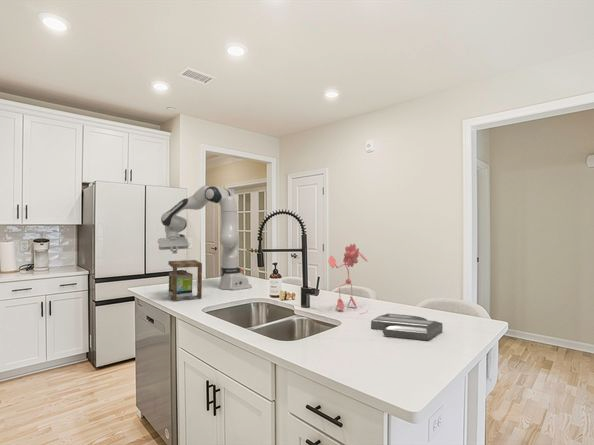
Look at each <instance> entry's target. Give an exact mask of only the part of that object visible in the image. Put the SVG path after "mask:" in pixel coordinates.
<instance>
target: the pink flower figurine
mask: <svg viewBox="0 0 594 445" xmlns="http://www.w3.org/2000/svg"><path fill="white" fill-rule="evenodd" d="M344 249H345V252H344V254H343V256H344V257H343V260H342V262H343V264H341V265H339V266H337V262H336V259H335V256H332V255H330V256H329V258H328V264H329V265H330V267H331V268H332V269H334V268H335V267H336V269H338V268H340V267H342V266H345V268H346V270H347V277H348V278H347V279H346V280H345V283H344V284H342V285H340V286H339V287H338V289H339V290H338V291H339V296H341V288H342V287H343V286H345V285H351V286H350V287H351V288H350V290H351V294H353V285H352V280H351V279H350V271H349V267H351V268H353V267H354V264H358V262H359V260H358V258H359V256H360V258H362V259H363V260H364V261H365V262H369V261H368V260H367V259H366V257H365V256H364V255H363V254H362V253H361V252H360V248H359V247H357V245H356V243H353V244H352V243H350V244H349V246H348V245H346V246H345V247H344ZM349 298H350V299H349V302H348V303H347V305H346V306H347V307H348V308H349V306H350V304H351V302H352V304H353V306H354V307H355V308H358V306H357V303H356V300H354V298H353V296H352V295H351V296H349ZM344 308H345V304H344V301H343V300H342V299H341V298H338V299H337V305H336V307H335V310H337V309H339V310H340V311H341V312H343V311H344ZM327 311H329V309H327ZM365 313H367V311H365V312H362V313H360V315H361V314H362V315H363V314H365Z"/></svg>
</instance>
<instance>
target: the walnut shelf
mask: <svg viewBox="0 0 594 445" xmlns="http://www.w3.org/2000/svg"><path fill="white" fill-rule="evenodd" d="M167 263H168V266H170V267H171V268H172V272H173V293H172V295H171V297H170V300H171V301H172V303H173V302H181V301H192V300H194V301H195V300H201V299H202V292H203V291H202V290H203V289H202V287H203V282H202V280H203V277H202V275H203V263H202V262H200V261H198V260H196V259H189V260H183V259H182V260H168V262H167ZM180 268H197V282H196V283H197V284H196V285H197V287H196V288H197V289H196V291H197V292H196V295H192V296H184V297H177V272H178V269H180Z"/></svg>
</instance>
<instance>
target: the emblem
mask: <svg viewBox="0 0 594 445" xmlns="http://www.w3.org/2000/svg"><path fill="white" fill-rule="evenodd" d="M370 328H371V330H377V331H382V334H383V336H385V337H389V338H390V337H392V338H401V339H402V338H403V339H412V340H420V341H421V340H422V341H429V340H432V339H433V338H435V337H437V336H439V335H440V334H441V333H443V329H444V327H443V322H439V321H437V320H430V319H429V320H428V319H427V318H425V317H421V316H416V315H410V314H409V315H408V314H407V315H406V314H398V313H397V314H396V313H386V314H381V315H378V316H377V317H376V318H373V319H372V320H371V321H370Z"/></svg>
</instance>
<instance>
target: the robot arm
mask: <svg viewBox="0 0 594 445" xmlns="http://www.w3.org/2000/svg"><path fill="white" fill-rule="evenodd" d="M208 202H211V203H214V204H219V207H220V233H219V234H220V236H219V242H220V244H221V246H222V247H223V248H222V253H221V267H220V282H219V286H218V289H219V290H220V289H221V290H230V291H236V290H237V291H238V290H244V289H251V288H252V287H253V286H252V284H249V279H248V277H247V276H246V275H245V274H244V273H242V271H243V270H244V269H243V267H239V249H240V248H239V247H240V236H239V234H238V232H237V231H238V207H237V201H236V199H235V197H233V196H232V194H231V192H230V190H229V189H227V188H223V187H220V186H212V185H211V186H209V185H203V186H201V187H200V188H198V190H196V191H195V192H194V194H192V195H190V196H189V197H187V198H183V199H181V200H180V201H179V202H178V203H177V204H175V205H174V206H173V207H171V209H169V210H168V211H166V212H165V213H163V214H162V216H161V218H160V222H161V224H162V225H163V226H164V232H165V238H164V237H163V238H159V239H158V240H157V243H158V250H160V251H161V250H162V251H165V250H167V251H168V250H169V251H171V253H172V254H178V251H179V250H188V248H189V245H190V244H189V241H188V239H187V238H186V235H185V234H181V232H183V231H185V229H186V228H187V226H188V225H187V224H188V223H187V219H186V218H185V217H182V216H179V215H178V214H179V213H181V212H182V211H184V210H196V211H198V210H201V209H203V208H204V207H205V206H206V205H207V204H208Z"/></svg>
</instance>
